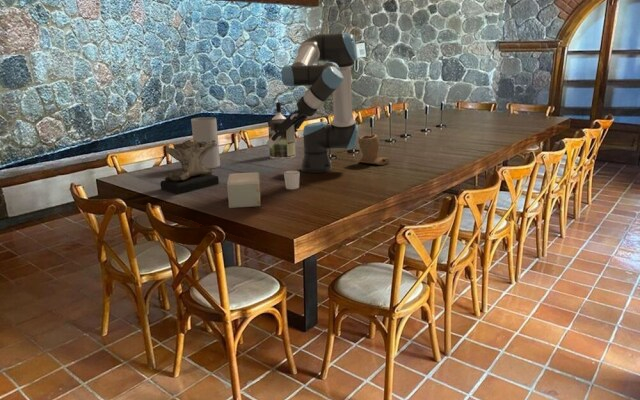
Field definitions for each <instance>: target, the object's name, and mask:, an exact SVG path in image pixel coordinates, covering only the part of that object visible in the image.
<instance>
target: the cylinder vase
mask: <svg viewBox="0 0 640 400" xmlns="http://www.w3.org/2000/svg"><path fill="white" fill-rule="evenodd" d="M190 121H191V123H190V124H191V131H192V132H191V133H192V139H193V141H192V142H194V140H196V141H197V142H202V141H203V142H207V143H208V142H210V143H211V142H212V141H213V140H215V141H216V144H217V146H216V147H214V148H213V149H211V150H210V151H209V152H207V153H206V154H205V156H204V157H203V158H202V161H201V165H204V166H205V167H206V168H211V169H212V170H213V169H217V168H219V167H220V166H221V160H220V159H221V158H220V147H219V138H218V137H219V136H218V124H217V123H218V122H217V117H209V116H207V117H204V116H203V117H195V118H191V119H190Z"/></svg>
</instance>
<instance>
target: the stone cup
mask: <svg viewBox="0 0 640 400" xmlns="http://www.w3.org/2000/svg"><path fill="white" fill-rule="evenodd" d="M358 145H359V149H360V151H361V153H362V158H360V159H359V160H358V162H359V163H364V164H371V165H379V166H381V165H383V166H384V165H386V164H388V163H390V161H391V158H389V157H384V156H380V155H379V148H380V147H379V146H380V139H379V136H378V135H377V134H366V135H365V134H364V135H363V136H360V137H359V138H358Z"/></svg>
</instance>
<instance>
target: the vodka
mask: <svg viewBox="0 0 640 400" xmlns="http://www.w3.org/2000/svg"><path fill="white" fill-rule="evenodd" d="M275 108H276V109H275V110H276V111H275V112H276V114H275V115H274V116H273V117H272V118H271V120H276V119H286V118H287V117H285V116H284V115H283V114H282V107H281V102H275Z"/></svg>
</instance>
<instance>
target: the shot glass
mask: <svg viewBox="0 0 640 400" xmlns="http://www.w3.org/2000/svg"><path fill="white" fill-rule="evenodd" d="M300 175H301V173H300V171H299V170H286V171H284V172H283V176H284V184H285V188H286V190H298V189H299V188H300Z"/></svg>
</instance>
